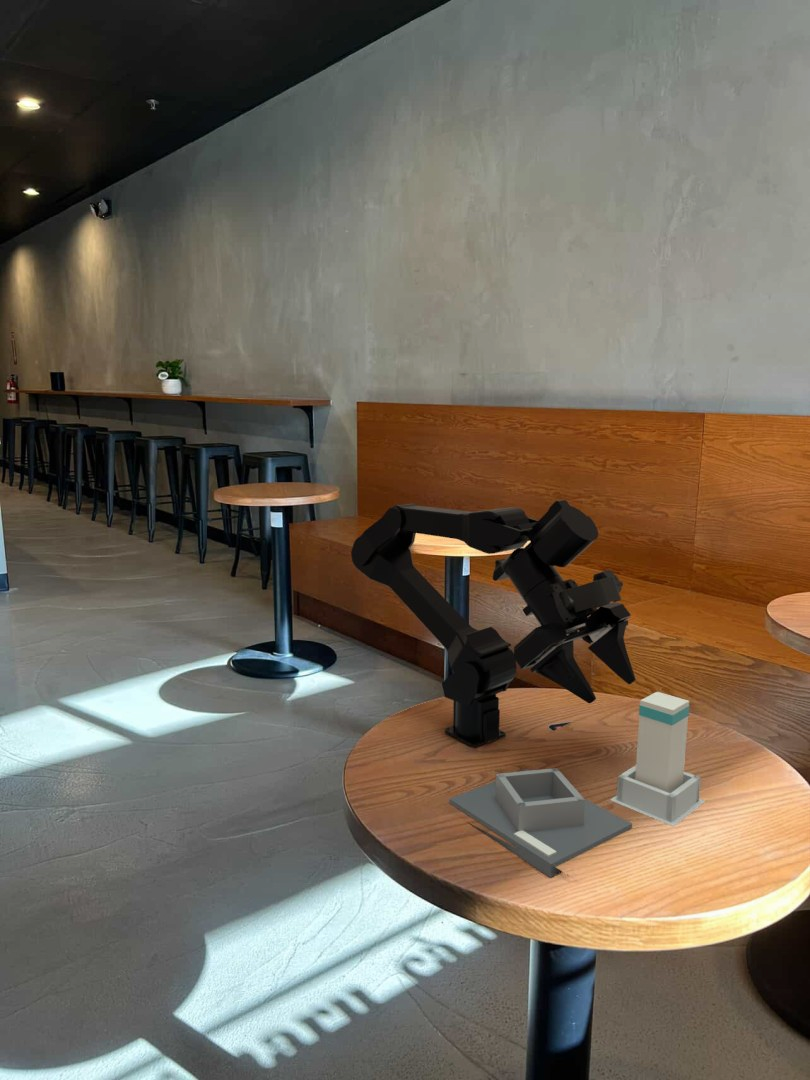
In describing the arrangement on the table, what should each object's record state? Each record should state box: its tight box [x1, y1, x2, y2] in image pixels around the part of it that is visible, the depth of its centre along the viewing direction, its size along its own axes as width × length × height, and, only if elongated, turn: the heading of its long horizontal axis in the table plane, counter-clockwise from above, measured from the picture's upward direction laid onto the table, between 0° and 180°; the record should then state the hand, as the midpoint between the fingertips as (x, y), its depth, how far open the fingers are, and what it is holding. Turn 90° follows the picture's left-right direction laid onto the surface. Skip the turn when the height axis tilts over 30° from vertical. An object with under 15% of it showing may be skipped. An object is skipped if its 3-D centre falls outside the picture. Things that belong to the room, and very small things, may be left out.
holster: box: [609, 764, 706, 827], centre depth 91 cm, size 8×8×4 cm
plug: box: [635, 691, 690, 793], centre depth 90 cm, size 4×4×12 cm
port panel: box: [448, 767, 633, 878], centre depth 87 cm, size 16×13×4 cm
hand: (613, 691), depth 93 cm, fingers open, 9 cm apart
